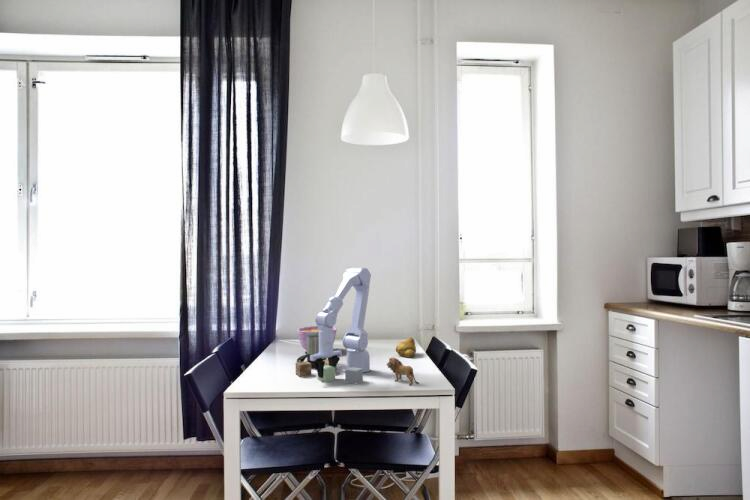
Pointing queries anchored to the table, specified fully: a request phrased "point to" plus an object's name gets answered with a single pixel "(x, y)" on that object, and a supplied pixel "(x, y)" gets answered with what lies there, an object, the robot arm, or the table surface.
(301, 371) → the walnut block
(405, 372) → the lion figurine
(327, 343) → the robot arm
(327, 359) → the oak block
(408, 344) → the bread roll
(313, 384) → the table surface
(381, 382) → the table surface
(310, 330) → the bowl of food
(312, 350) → the milk frother
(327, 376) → the sage painted block
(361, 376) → the slate grey block
